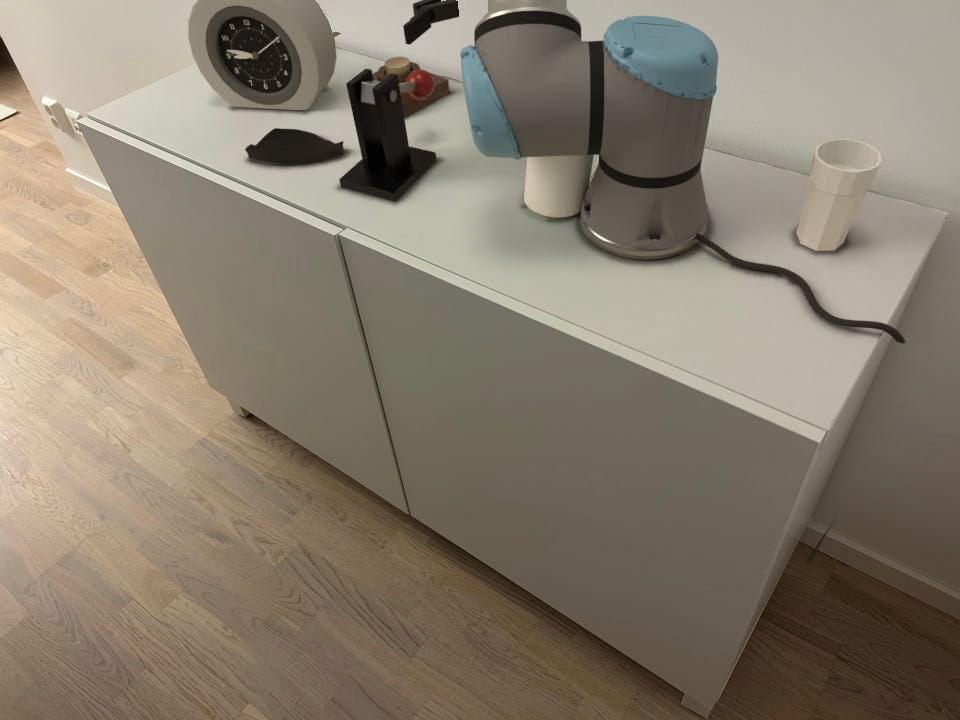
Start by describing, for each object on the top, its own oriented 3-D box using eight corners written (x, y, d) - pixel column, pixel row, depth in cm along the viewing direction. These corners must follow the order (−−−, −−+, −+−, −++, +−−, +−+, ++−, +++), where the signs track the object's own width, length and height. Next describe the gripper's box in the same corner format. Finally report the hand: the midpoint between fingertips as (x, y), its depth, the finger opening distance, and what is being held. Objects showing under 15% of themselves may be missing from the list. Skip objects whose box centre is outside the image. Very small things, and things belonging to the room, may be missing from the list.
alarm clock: (210, 105, 118) (163, -23, 104) (230, 84, 123) (188, -42, 109) (329, 111, 114) (298, -22, 100) (346, 89, 119) (318, -41, 104)
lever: (415, 95, 104) (416, 66, 102) (438, 100, 102) (440, 70, 101) (354, 106, 93) (355, 74, 91) (380, 112, 91) (381, 79, 89)
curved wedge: (324, 174, 102) (321, 164, 101) (245, 160, 106) (242, 150, 105) (352, 144, 107) (350, 134, 106) (276, 132, 111) (273, 122, 110)
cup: (794, 216, 88) (819, 134, 80) (853, 227, 85) (884, 144, 77) (785, 248, 84) (810, 165, 76) (846, 260, 81) (878, 176, 73)
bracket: (384, 148, 106) (367, 55, 95) (436, 160, 102) (424, 65, 92) (340, 187, 99) (317, 92, 89) (395, 201, 96) (377, 104, 86)
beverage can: (553, 228, 90) (564, 139, 81) (510, 200, 94) (517, 113, 85) (598, 208, 93) (613, 120, 85) (555, 181, 98) (566, 96, 89)
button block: (449, 92, 116) (447, 68, 113) (404, 117, 111) (400, 93, 108) (400, 73, 122) (396, 49, 119) (355, 96, 117) (350, 72, 114)
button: (416, 71, 114) (414, 60, 113) (397, 81, 112) (396, 70, 111) (399, 65, 116) (397, 54, 115) (381, 74, 114) (379, 63, 113)
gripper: (580, 19, 115) (525, 79, 102) (444, 2, 123) (379, 54, 111) (582, -31, 109) (524, 25, 97) (440, -46, 118) (370, 4, 106)
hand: (446, 41), depth 104 cm, fingers open, 13 cm apart
